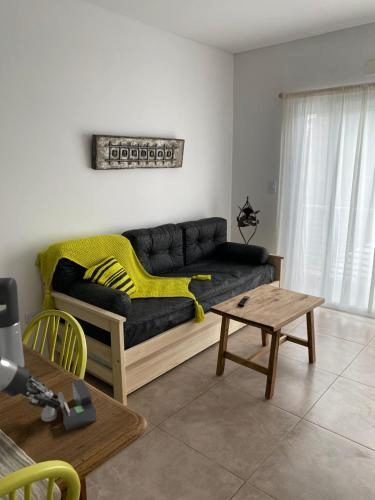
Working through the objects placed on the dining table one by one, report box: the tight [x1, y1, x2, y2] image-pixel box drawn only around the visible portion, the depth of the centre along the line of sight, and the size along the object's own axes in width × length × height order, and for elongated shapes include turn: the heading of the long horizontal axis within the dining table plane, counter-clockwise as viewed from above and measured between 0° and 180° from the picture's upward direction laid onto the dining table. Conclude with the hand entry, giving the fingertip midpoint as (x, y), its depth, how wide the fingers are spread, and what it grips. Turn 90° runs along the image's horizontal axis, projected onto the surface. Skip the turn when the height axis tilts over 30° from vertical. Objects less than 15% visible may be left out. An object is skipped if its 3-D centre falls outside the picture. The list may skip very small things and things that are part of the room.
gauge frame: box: [62, 378, 97, 431], centre depth 114 cm, size 14×8×6 cm, turn 30°
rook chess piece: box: [40, 389, 58, 423], centre depth 111 cm, size 4×4×8 cm
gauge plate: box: [57, 391, 70, 413], centre depth 112 cm, size 11×1×4 cm, turn 30°
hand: (56, 402), depth 113 cm, fingers closed on rook chess piece, 3 cm apart
